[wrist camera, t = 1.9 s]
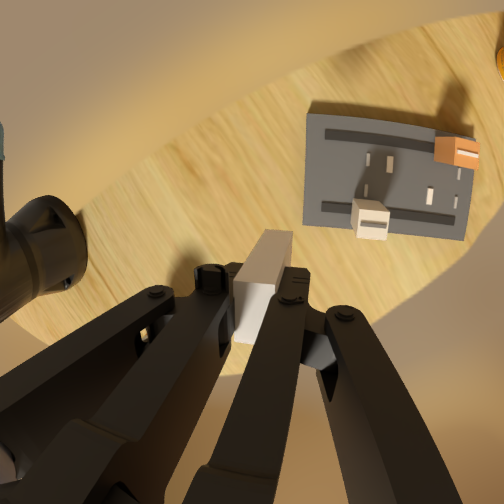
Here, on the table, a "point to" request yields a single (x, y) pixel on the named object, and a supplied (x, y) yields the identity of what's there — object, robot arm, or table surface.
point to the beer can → (501, 62)
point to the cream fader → (369, 219)
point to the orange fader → (457, 152)
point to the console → (383, 176)
